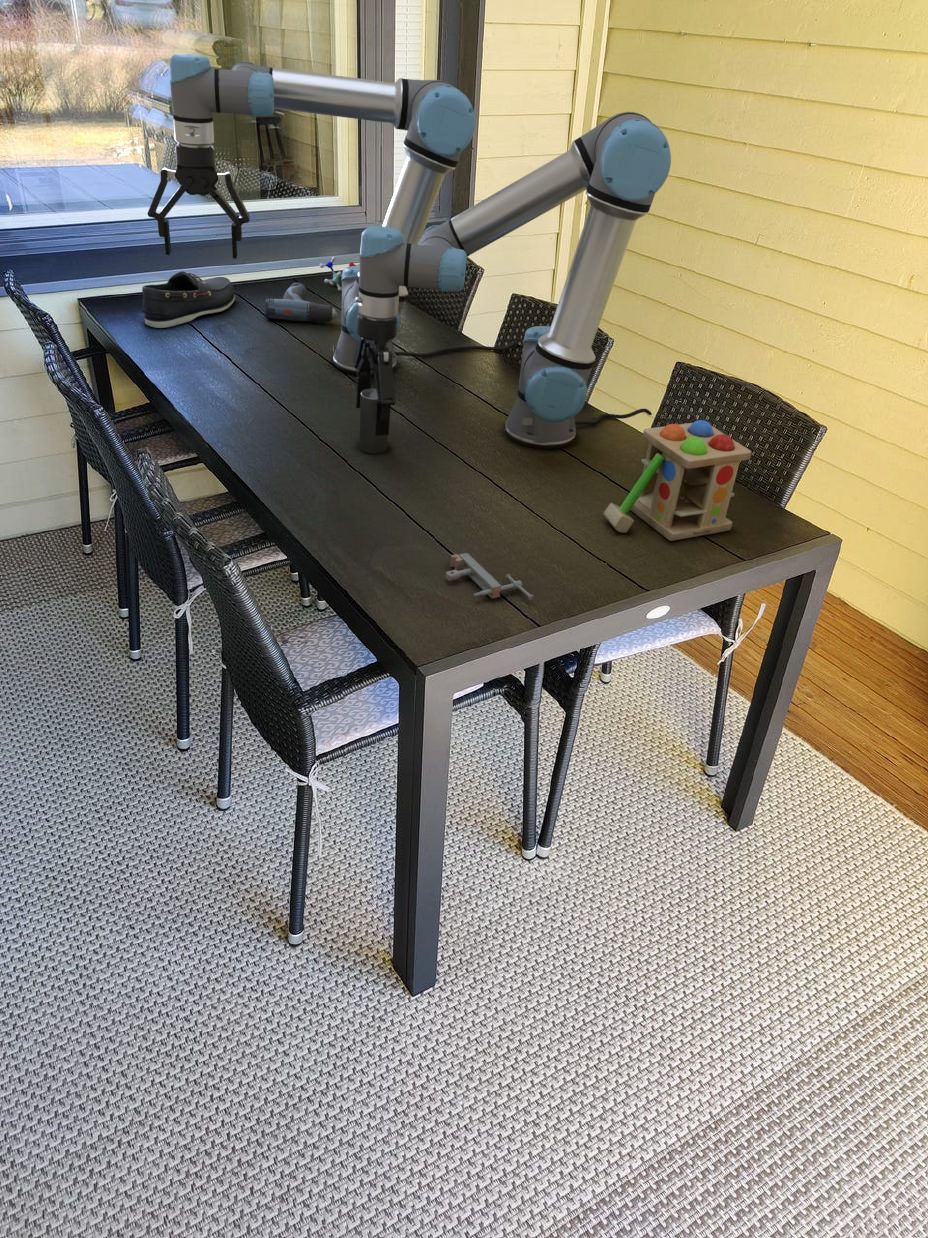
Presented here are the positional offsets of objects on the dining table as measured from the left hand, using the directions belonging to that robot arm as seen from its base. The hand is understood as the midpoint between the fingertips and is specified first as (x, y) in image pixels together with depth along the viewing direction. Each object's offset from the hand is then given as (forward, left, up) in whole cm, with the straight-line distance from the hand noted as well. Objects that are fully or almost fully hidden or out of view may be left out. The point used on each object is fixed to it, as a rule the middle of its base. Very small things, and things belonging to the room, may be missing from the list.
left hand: (201, 255), depth 206 cm
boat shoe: (-21, -45, -28) cm, 57 cm away
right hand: (-9, +47, -22) cm, 53 cm away
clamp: (+9, +99, -28) cm, 103 cm away
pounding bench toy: (-34, +102, -28) cm, 111 cm away
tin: (-9, +47, -28) cm, 56 cm away
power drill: (-48, -30, -28) cm, 63 cm away
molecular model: (-70, -46, -28) cm, 88 cm away
